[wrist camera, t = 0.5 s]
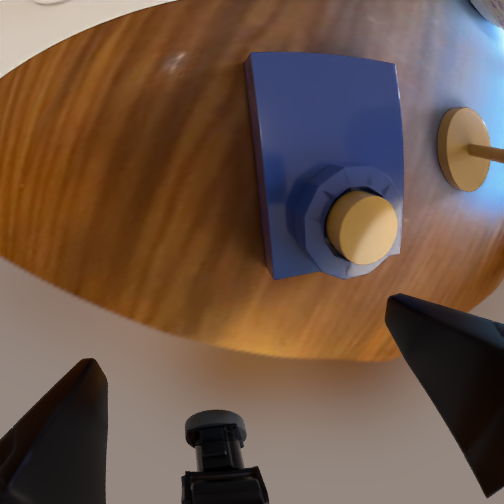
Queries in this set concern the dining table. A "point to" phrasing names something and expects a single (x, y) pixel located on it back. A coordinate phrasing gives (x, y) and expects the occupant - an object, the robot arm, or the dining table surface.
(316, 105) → the switch base
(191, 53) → the dining table surface
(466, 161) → the table lamp
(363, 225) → the lamp switch
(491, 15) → the paper bowls
